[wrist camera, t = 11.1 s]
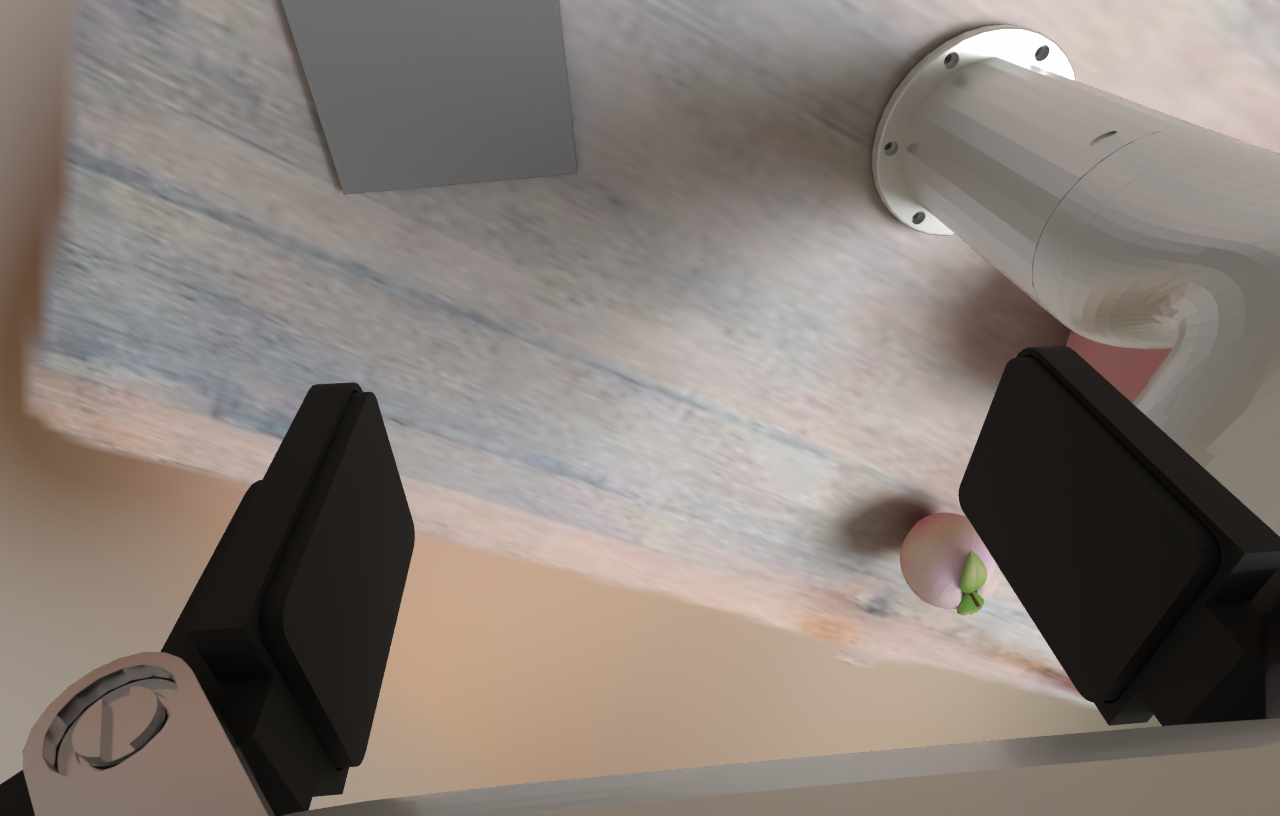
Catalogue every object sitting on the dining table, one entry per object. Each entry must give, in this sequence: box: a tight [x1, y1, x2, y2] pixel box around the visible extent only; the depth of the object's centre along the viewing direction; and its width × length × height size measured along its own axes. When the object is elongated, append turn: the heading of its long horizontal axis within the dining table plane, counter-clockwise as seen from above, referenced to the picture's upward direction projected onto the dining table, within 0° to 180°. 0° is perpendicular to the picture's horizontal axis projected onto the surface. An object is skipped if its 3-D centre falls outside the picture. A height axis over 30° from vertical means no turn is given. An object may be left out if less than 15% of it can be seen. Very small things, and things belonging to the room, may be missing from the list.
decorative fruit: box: [900, 513, 999, 615], centre depth 63 cm, size 9×8×10 cm
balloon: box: [1066, 330, 1172, 403], centre depth 48 cm, size 15×20×15 cm
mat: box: [281, 0, 577, 194], centre depth 37 cm, size 14×14×1 cm
